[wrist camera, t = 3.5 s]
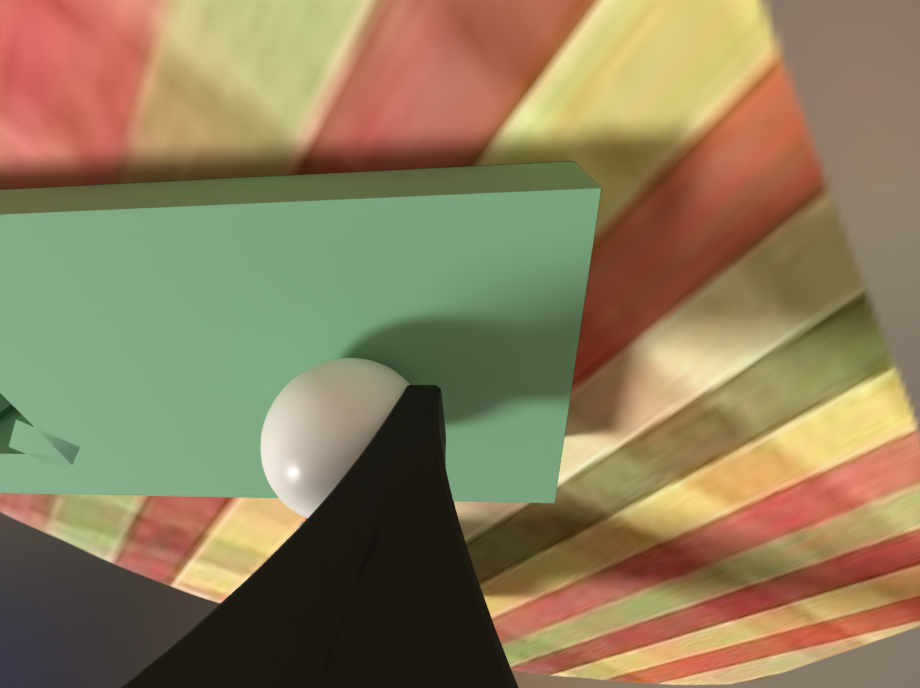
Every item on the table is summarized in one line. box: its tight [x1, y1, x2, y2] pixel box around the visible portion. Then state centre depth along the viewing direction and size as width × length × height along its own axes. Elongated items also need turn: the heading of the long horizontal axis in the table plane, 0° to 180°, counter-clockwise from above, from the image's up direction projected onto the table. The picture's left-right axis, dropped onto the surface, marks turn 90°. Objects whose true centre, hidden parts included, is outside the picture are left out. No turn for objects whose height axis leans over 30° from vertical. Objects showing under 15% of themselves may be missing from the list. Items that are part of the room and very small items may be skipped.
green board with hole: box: [0, 161, 601, 503], centre depth 13 cm, size 13×26×5 cm, turn 93°
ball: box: [260, 358, 410, 518], centre depth 10 cm, size 4×4×4 cm
